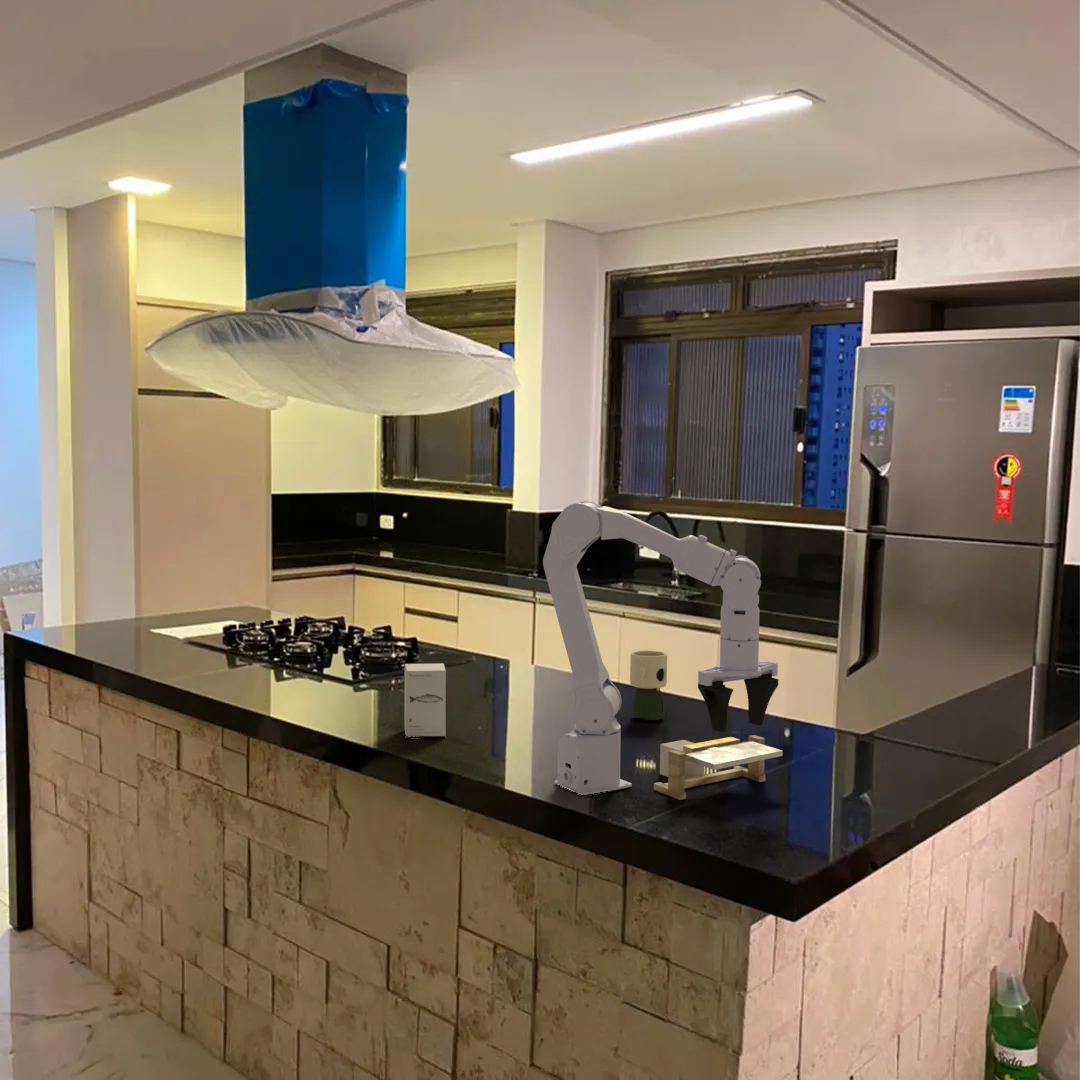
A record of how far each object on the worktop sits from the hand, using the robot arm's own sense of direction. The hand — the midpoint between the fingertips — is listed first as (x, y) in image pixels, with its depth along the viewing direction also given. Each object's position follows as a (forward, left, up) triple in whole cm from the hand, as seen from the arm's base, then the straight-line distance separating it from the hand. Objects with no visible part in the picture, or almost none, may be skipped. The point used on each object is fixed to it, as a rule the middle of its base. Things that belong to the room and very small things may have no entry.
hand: (737, 727), depth 164 cm
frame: (0, +6, -10) cm, 12 cm away
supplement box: (-23, +57, -11) cm, 63 cm away
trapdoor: (0, +2, -5) cm, 6 cm away
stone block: (0, +12, -10) cm, 16 cm away
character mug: (+19, +44, -11) cm, 49 cm away
